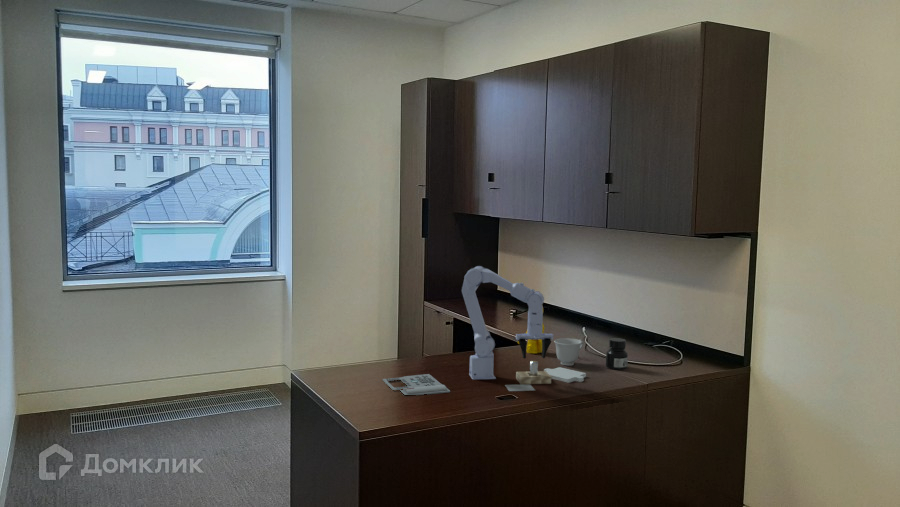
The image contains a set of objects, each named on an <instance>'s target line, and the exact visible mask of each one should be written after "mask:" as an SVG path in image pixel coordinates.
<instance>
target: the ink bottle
mask: <svg viewBox="0 0 900 507" xmlns="http://www.w3.org/2000/svg"><path fill="white" fill-rule="evenodd" d="M626 343H627V340H626V339H624V338H619V337H613V338H609V340H608V348H609V349H608V350H606V352H605V367H606V368H608V369H610V370H617V371H622V370H626V369H627V368H628V358H629V356H628V355H629V354H628V352H627V350H625V349H626V345H627V344H626Z"/></svg>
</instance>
